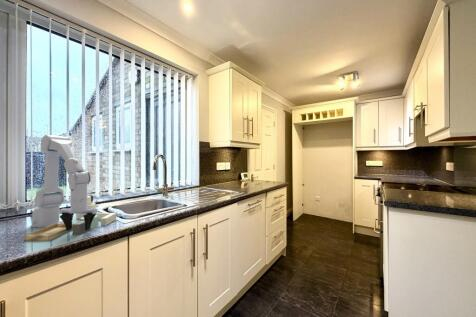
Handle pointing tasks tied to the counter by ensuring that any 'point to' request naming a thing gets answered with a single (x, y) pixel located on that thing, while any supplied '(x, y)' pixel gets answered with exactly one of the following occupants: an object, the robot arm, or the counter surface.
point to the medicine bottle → (89, 205)
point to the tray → (47, 232)
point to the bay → (106, 217)
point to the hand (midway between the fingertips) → (78, 229)
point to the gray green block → (80, 226)
